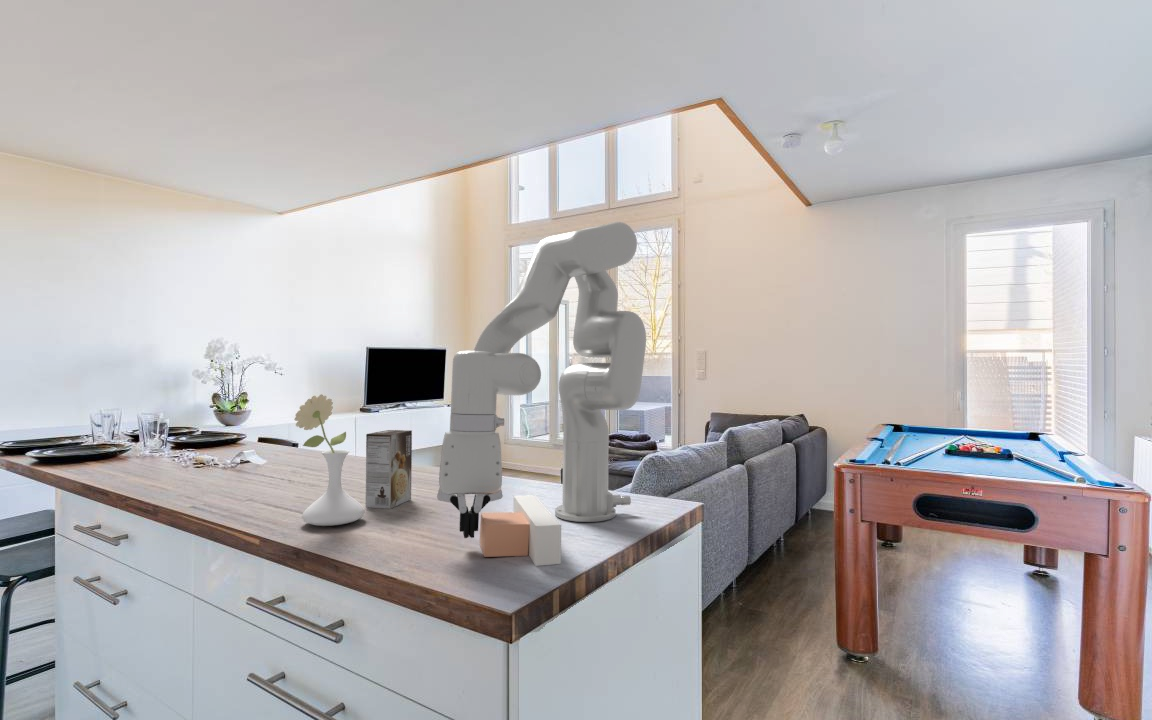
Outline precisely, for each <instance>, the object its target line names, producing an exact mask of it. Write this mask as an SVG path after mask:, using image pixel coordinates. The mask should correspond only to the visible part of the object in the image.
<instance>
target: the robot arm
mask: <svg viewBox="0 0 1152 720" xmlns="http://www.w3.org/2000/svg"><path fill="white" fill-rule="evenodd" d="M637 249H638V240H637V235H636V234H635V231H634V230H633V228H632V227H631V226H630V225H628V224H627V223H625V222H621V221H617V222H610V223H606V224H602V225H597V226H591V227H586V228H582V229H578V230H573V231H569V232H563V233H559V234H555V235H550V236H546V237H545V238H543V239H541V240H540V241H539V242H538V243H537V245H536V246H535V248H534V251H533V253H532V255H531V258H530V260H529V262H528V265H527V267H526V269H525V272H524V274H523V275H522V276H523V277H522V279H521V282H520V284H519V286H518V289H517V290H516V294H515V296H514V297H513V299H512V300H511V301H510V302H508V304H506V305H505V306H504V308H502V309H501V310H500V312H498V314H497V315H496V316H495V317H494V318H493V319H492V320H491V321H490V322H489V324H487V325H486V327H485V328H484V330H483V331H482V332H481V334H480V336H479V338H478V339H477V341H476V344H475V347H474V348H473V350H461V351H458V352H456V353H455V354H454V356H453V358H452V369H451V370H452V373H451V374H452V376H451V398H450V399H451V400H450V419H449V431H446V432H445V433H444V436H443V440H442V445H441V453H440V461H439V472H438V473H439V474H438V475H439V477H438V483H439V485H438V486H439V488H438V490H437V491H438V492H437V496H436V498H437V501H442V502H446V503H451V504H452V505H453V506H454V508H456V510H458V511H459V532H460V533H461V532H462V533H463V534H462V535H463V538H464V539H467V538H471V539H475V532H478V531H479V519H480V513H481V511H482V510H483V509H484V508H485V507H486V506H487V505H488V504H489V503H491V502H494V501H499V500H501V499H502V498H503V497H504V496H503V491H502V486H503V461H502V460H503V459H502V456H503V455H502V445H501V438H500V433H499V432H496V430H497V428H500V427H504V426H505V418H501V417H500V416H498V415H497V399H498V397H497V396H498V395H503V396H523V395H528V394H530V393H532V392H533V391H534V390H535V389H537V387H538V386H539V384H540V382H541V379H542V377H541V376H542V372H541V367H540V365H539V363H538V362H537V360H536V359H535V358H533V357H532V356H531V355H529V354H525V353H522V352H521V353H519V352H510V351H511V350H512V348H513V347H514V346H515V345H516V344H517V343H518V342H519V341H520V340H521V339H523V338H524V337H525V336H528V335H529V334H531V333H532V332H534V331H537V330H538V329H540V328H541V327H543V326H545V325H546V324H548V323H550V322H551V321H552V320H554V318H556V316H557V314H558V311H559V308H560V307H561V306H560V305H561V303H562V301H563V297H564V295H565V292H566V290H567V288H568V284H570V283H569V282H570V280H571V279H572V278H574V279H575V281H576V285H577V289H578V301H577V307H576V314H575V322H574V329H573V336H572V337H573V338H572V345H573V349H574V350H575V352H576V353H577V354H578V355H579V356H581V357H585V358H596V359H597V358H600V359H601V358H602V359H603V358H610V362H579V363H574V364H571V365H570V366H568V367H566V368H565V369H564V370H563V371H562V373H561V374H560V377H559V380H558V393H559V398H560V399H559V400H560V404H561V409H562V410H561V411H562V422H563V423H562V424H563V425H562V426H563V427H562V428H563V429H562V430H563V431H562V434H563V435H562V436H563V437H562V438H563V439H562V504H561V505H558V506H557V507H556V508H555V510H554V515H555V516H556V517H557V518H559V519H561V520H563V521H564V520H565V521H570V522H579V523H596V522H604V521H608V520H612V519H613V518H615V517H616V515H617V511H616V508H617V506H630V505H631V503H632V502H631V501H632V500H631V496H630V495H621V494H613V493H611V492H609V450H610V449H609V446H610V445H609V441H610V431H609V425H608V422H607V420H606V417H605V416H604V413H603V411H604V410H605V411H625V410H629V409H632V407H633V406H634V405H636V403H637V401H638V400H639V399H638V398H639V397H640V392H641V387H642V379H643V371H644V363H645V356H646V347H647V333H646V328H645V324H644V322H643V319H642V318H641V317H640V316H639V314H637V313H635V312H634V311H631V310H618V301H619V299H618V298H619V293H618V288H617V285H616V283H615V281H614V280H613V278H612V277H611V275H609V273H608V270H611V269H615V268H618V267H621V266H625V265H626V264H627V263H629V262H630V261H631V260H632V259H633V258H634V257H635V254H636V252H637ZM602 410H603V411H602ZM466 495H474V496H473V502H472V506H470V510H469V507H468V505H467V499H466Z"/></svg>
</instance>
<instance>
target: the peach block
mask: <svg viewBox="0 0 1152 720" xmlns="http://www.w3.org/2000/svg"><path fill="white" fill-rule="evenodd" d="M529 525H530V524H529V523H528V521H527V520H526V518H525V517H524V516H523V514H522V513H521V512H513V511H512V512H480V526H479V528H480V529H479V540H478V541H479V545H480V546H479V547H480V548H481V552H482V555H483V557H484V558H486V557H487V558H490V557H492V558H493V557H494V558H495V557H522V556H528V555H529V554H528V543H529Z"/></svg>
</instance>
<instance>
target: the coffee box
mask: <svg viewBox="0 0 1152 720" xmlns="http://www.w3.org/2000/svg"><path fill="white" fill-rule="evenodd" d="M412 433H413V430H403V429H402V430H401V429H387V430H382V431H381V430H380V431H376V432H371V433H367V434H365V435H366V436H365V437H366V439H365V440H366V441H365V443H366V444H365V445H366V446H365V451H366V452H365V453H366V454H365V508H371V509H373V508H375V509H389V510H390V509H393V508H396V507H397V506H400V505H402V504H405V503H406V502H409V501H411V500H412V468H413V467H412V466H413V465H412V460H413V459H412V457H413V456H412V452H413V446H412V445H413V441H412V439H413V434H412Z"/></svg>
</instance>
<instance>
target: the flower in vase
mask: <svg viewBox="0 0 1152 720" xmlns="http://www.w3.org/2000/svg"><path fill="white" fill-rule="evenodd" d="M333 403H334V402H333V400H332V398H327V395H324V394H323V393H322V394H319V395H318V396H316V395H313V396H311V398H308V399H307V400H306V401H305V402H304V404H300V406H299V410H298V411H297V412H296V413H295V417H294V418H293V419H294V421H295V422H296V423H295V426H296V427H297V428H299V429H303V430H304V431H311V430H313V429H314V428H315V429H316V428H318V427H319V426H320V428H321V431H322V434H323V436H322V435H313V436H311V437H310V438H308V439H307V440H306V441H305V442H304V443H303V444H302V447H306V448H317V447H319V446H320V445H321V444H322V443H323V442H324V440H325V441H326V443H327V445H328V446H329V449H330V450H324V451H321V454H322V456H323V457H324V458H325V461H326V463H327V469H328V470H327V471H328V482H327V483H328V484H327V487H326V491H325V492H324V493H323V494H322V495H321V496H320V497H318V498H317V499H316V500H315V501H313V502H312V503H311V504H310V505H308V507H307V508H306V509H305V510H304V511H303V512H302V514H301V519H302V521H303V522H304V523H307V524H309V525H313V526H319V527H320V526H321V527H331V526H340V525H346V524H349V523H353V522H355V521H357V520H360V519H362V518H363V517H364V516H365V514H366V509H365V508H364V506H363V505H362V504H361V503H360V502H359V501H358V500H356V499H355V498H354V497H352V496H350V495H349V494H348V493H347V492H346V491H345V490H344V489H343V486H342V485H343V484H342V471H343V465H344V462H345V459H346V457H347V455H348V454H349V453H350V450H349V449H334V448H333V446H336V445H340V444H342V443H344V442H345V440H346V439H347V438H346V437H347V432H346V431H344V432H343V433H341V434H339V435H337V436H334V437H332V438H331V439H330V442H329V439H328V438H327V436H326V435H327V434H326V433H325V428H324V424H325V423H326V421H327V420H328V419H329V417H330V416H331V415H332V413H333V412H332V410H333V408H334V407H333Z"/></svg>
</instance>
